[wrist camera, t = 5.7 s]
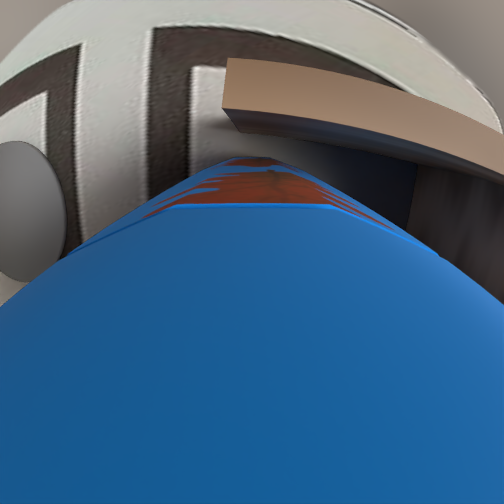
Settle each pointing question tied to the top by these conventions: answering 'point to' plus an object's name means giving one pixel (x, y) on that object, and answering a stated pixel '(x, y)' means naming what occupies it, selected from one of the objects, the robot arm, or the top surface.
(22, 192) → the coaster
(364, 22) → the top surface
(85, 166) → the top surface
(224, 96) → the walnut cubby
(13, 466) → the thermos
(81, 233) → the top surface
